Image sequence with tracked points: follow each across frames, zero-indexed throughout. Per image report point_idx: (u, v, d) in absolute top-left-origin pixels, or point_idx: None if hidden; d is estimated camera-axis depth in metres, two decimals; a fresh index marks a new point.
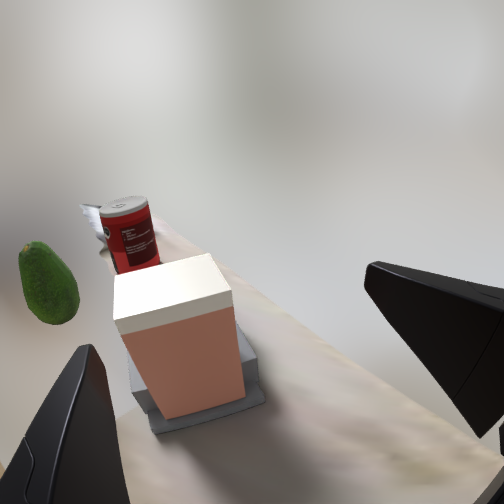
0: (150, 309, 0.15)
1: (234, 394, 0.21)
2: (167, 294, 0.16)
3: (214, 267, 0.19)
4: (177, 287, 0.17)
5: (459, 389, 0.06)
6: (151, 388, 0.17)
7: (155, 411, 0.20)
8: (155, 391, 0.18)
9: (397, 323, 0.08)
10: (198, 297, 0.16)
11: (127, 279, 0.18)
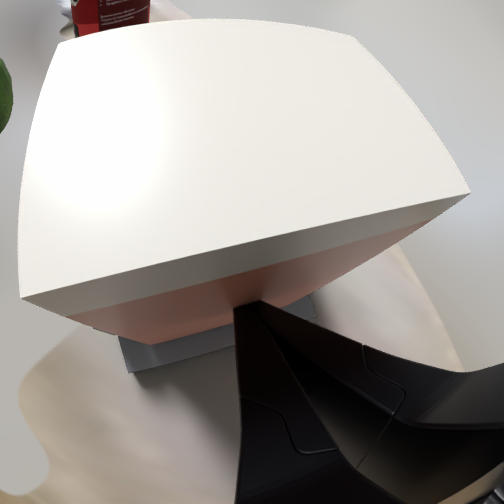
0: (233, 235, 0.03)
1: None
2: (296, 141, 0.03)
3: (394, 84, 0.05)
4: (323, 116, 0.04)
5: None
6: (141, 338, 0.08)
7: None
8: (148, 337, 0.09)
9: None
10: (416, 195, 0.04)
11: (98, 50, 0.03)
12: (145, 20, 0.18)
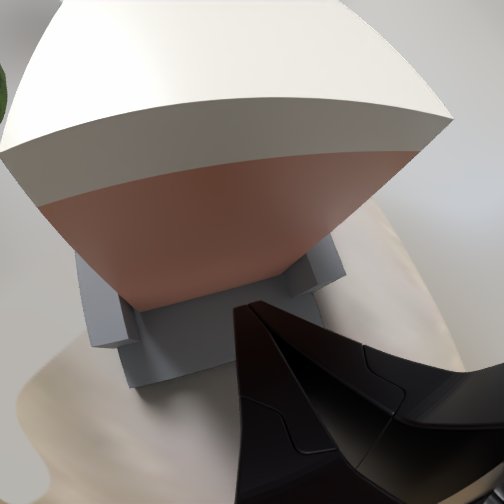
0: (201, 94, 0.03)
1: (267, 275, 0.13)
2: (268, 47, 0.03)
3: (373, 32, 0.05)
4: (296, 36, 0.04)
5: None
6: (125, 290, 0.08)
7: (133, 349, 0.12)
8: (133, 291, 0.08)
9: None
10: (392, 100, 0.03)
11: None
12: None
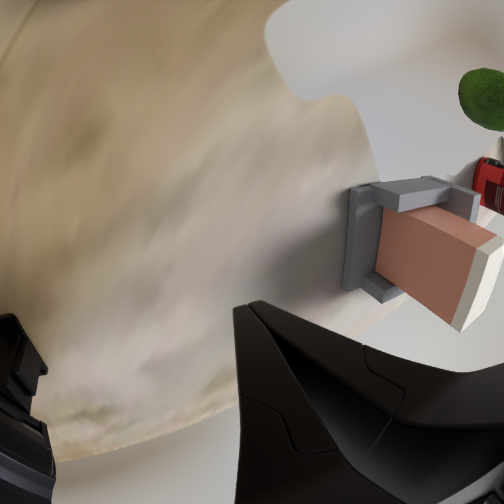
0: (480, 282, 0.15)
1: (382, 266, 0.26)
2: (481, 291, 0.16)
3: (475, 317, 0.18)
4: (480, 296, 0.17)
5: None
6: (422, 224, 0.20)
7: (371, 197, 0.23)
8: (417, 224, 0.20)
9: None
10: (469, 313, 0.17)
11: (502, 253, 0.16)
12: (490, 208, 0.31)
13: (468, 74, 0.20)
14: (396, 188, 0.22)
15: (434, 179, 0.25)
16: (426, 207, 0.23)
